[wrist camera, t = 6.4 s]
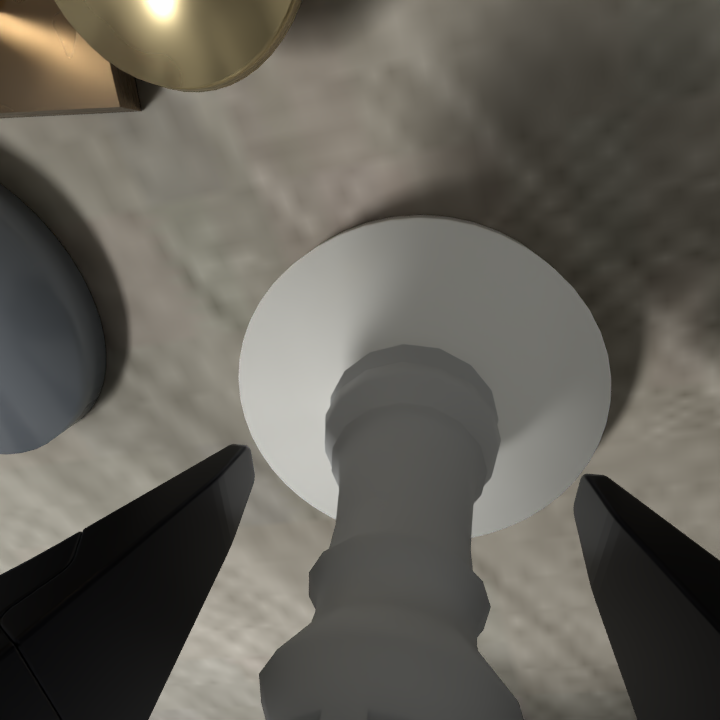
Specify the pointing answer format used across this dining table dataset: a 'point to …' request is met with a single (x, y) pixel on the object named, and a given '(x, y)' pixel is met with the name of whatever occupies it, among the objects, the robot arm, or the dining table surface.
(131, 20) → the brass balance
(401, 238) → the light grey round disc
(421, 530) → the rook chess piece
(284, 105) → the dining table surface
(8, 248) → the blue-grey flattened dome
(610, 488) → the robot arm
